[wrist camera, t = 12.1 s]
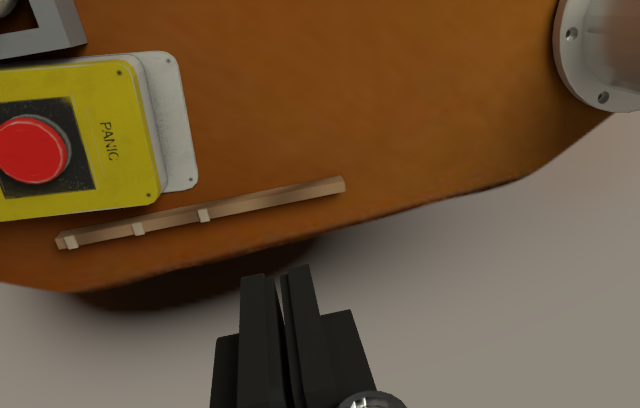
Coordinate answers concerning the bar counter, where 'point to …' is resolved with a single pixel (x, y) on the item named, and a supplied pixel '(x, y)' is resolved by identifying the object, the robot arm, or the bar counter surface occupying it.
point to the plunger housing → (46, 30)
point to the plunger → (7, 7)
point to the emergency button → (92, 134)
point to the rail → (198, 212)
